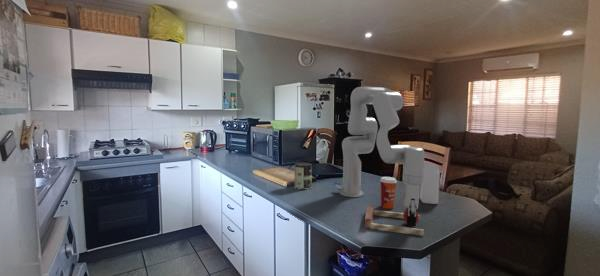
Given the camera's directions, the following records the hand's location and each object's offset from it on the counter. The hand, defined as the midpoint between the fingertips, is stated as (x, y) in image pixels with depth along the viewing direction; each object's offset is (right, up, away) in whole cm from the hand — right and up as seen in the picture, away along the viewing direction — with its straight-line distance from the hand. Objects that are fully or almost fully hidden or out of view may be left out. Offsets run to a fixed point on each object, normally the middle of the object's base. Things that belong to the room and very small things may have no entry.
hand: (410, 221), depth 115 cm
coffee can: (-43, +4, +54) cm, 69 cm away
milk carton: (+21, +1, +30) cm, 37 cm away
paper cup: (-3, +1, +22) cm, 22 cm away
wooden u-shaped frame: (-6, -1, +2) cm, 6 cm away
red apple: (0, -2, 0) cm, 2 cm away
